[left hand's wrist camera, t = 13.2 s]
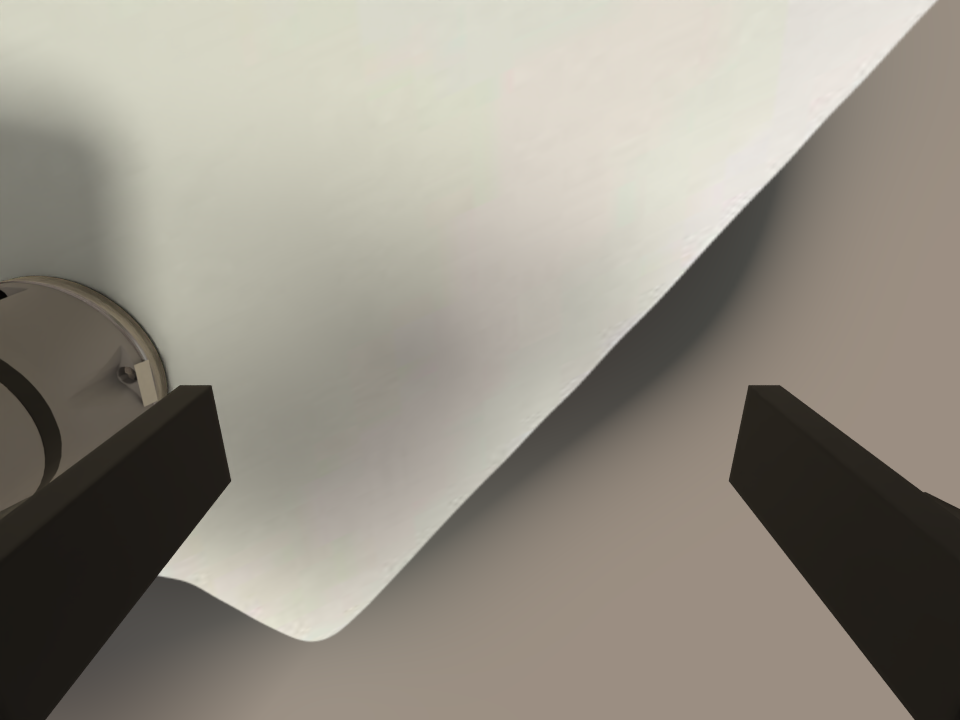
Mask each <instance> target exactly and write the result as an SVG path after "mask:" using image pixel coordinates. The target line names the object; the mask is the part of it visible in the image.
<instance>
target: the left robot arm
mask: <svg viewBox="0 0 960 720" xmlns="http://www.w3.org/2000/svg"><path fill="white" fill-rule="evenodd" d="M230 482H231V478H230V473H229V468H228V463H227V458H226V454H225V449H224V444H223V439H222V434H221V429H220V425H219V420H218V415H217V410H216V405H215V400H214V396H213V391H212V386H211V385H180V386H179V387H177V388H176V389H174V390H173V391H172V392H170V393H169V394H168V395H167V381H166V376H165V371H164V368H163V365H162V362H161V359H160V357H159V355H158V352H157V351H156V349H155V347H154V345H153V343H152V342H151V340H150V339H149V337H148V336H147V334H146V333H145V332H144V331H143V329H142V328H141V327H140V326H139V324H138V323H137V322H136V321H135V320H134V319H133V318H132V317H131V316H130V315H129V314H128V313H127V312H125V311H124V310H123V309H122V308H121V307H119V306H118V305H117V304H116V303H114V302H113V301H111V300H110V299H108V298H107V297H105V296H103V295H102V294H100V293H98V292H96V291H94V290H92V289H90V288H88V287H86V286H83V285H80V284H78V283H75V282H72V281H68V280H65V279H60V278H55V277H47V276H25V277H19V278H13V279H9V280H5V281H1V282H0V720H45V719H46V718H47V717H48V716H49V714H50V713H51V712H52V710H53V709H54V708H55V707H56V705H57V704H58V703H59V702H60V700H61V699H62V698H63V696H64V695H65V694H66V693H67V691H68V690H69V689H70V687H71V686H72V685H73V684H74V682H75V681H76V680H77V678H78V677H79V676H80V675H81V673H82V672H83V671H84V669H85V668H86V667H87V666H88V664H89V663H90V662H91V660H92V659H93V658H94V657H95V655H96V654H97V653H98V651H99V650H100V649H101V647H102V646H103V645H104V644H105V642H106V641H107V640H108V638H109V637H110V636H111V635H112V633H113V632H114V631H115V630H116V628H117V627H118V626H119V624H120V623H121V622H122V621H123V619H124V618H125V617H126V615H127V614H128V613H129V612H130V610H131V609H132V608H133V606H134V605H135V604H136V602H137V601H138V600H139V599H140V597H141V596H142V595H143V594H144V592H145V591H146V590H147V588H148V587H149V586H150V585H151V583H152V582H153V581H154V579H155V578H156V577H157V576H158V574H159V573H160V572H161V570H162V569H163V568H164V567H165V565H166V564H167V563H168V561H169V560H170V559H171V558H172V556H173V555H174V554H175V552H176V551H177V550H178V549H179V547H180V546H181V545H182V543H183V542H184V541H185V540H186V538H187V537H188V536H189V534H190V533H191V532H192V531H193V529H194V528H195V527H196V526H197V524H198V523H199V522H200V520H201V519H202V518H203V517H204V515H205V514H206V513H207V511H208V510H209V509H210V508H211V506H212V505H213V504H214V502H215V501H216V500H217V499H218V497H219V496H220V495H221V493H222V492H223V491H224V490H225V488H226V487H227V486H228V484H229V483H230ZM729 482H730V483H731V484H732V486H733V487H734V488H735V490H736V491H737V492H738V493H739V495H740V496H741V497H742V499H743V500H744V501H745V502H746V504H747V505H748V506H749V507H750V509H751V510H752V511H753V513H754V514H755V515H756V517H757V518H758V519H759V520H760V522H761V523H762V524H763V526H764V527H765V528H766V529H767V531H768V532H769V533H770V534H771V536H772V537H773V538H774V540H775V541H776V542H777V543H778V545H779V546H780V547H781V549H782V550H783V551H784V552H785V554H786V555H787V556H788V558H789V559H790V560H791V561H792V563H793V564H794V565H795V567H796V568H797V569H798V570H799V572H800V573H801V574H802V576H803V577H804V578H805V579H806V581H807V582H808V583H809V585H810V586H811V587H812V588H813V590H814V591H815V592H816V594H817V595H818V596H819V597H820V599H821V600H822V601H823V603H824V604H825V605H826V606H827V608H828V609H829V610H830V612H831V613H832V614H833V615H834V617H835V618H836V619H837V621H838V622H839V623H840V624H841V626H842V627H843V628H844V630H845V631H846V632H847V633H848V635H849V636H850V637H851V639H852V640H853V641H854V642H855V644H856V645H857V646H858V648H859V649H860V650H861V651H862V653H863V654H864V655H865V657H866V658H867V659H868V660H869V662H870V663H871V664H872V666H873V667H874V668H875V669H876V671H877V672H878V673H879V674H880V676H881V677H882V678H883V680H884V681H885V682H886V684H887V685H888V686H889V687H890V689H891V690H892V691H893V693H894V694H895V695H896V696H897V698H898V699H899V700H900V702H901V703H902V704H903V705H904V707H905V708H906V709H907V710H908V712H909V713H910V714H911V716H912V717H913V718H914V720H960V509H959V508H957V507H955V506H952V505H950V504H948V503H946V502H944V501H942V500H940V499H938V498H936V497H934V496H932V495H930V494H928V493H926V492H922V491H921V490H919V489H918V488H917V487H915V486H914V485H913V484H911V483H910V482H909V481H907V480H906V479H905V478H903V477H902V476H901V475H899V474H898V473H897V472H895V471H894V470H893V469H891V468H890V467H889V466H887V465H886V464H885V463H883V462H882V461H880V460H879V459H878V458H876V457H875V456H874V455H873V454H871V453H870V452H868V451H867V450H866V449H864V448H863V447H862V446H860V445H859V444H858V443H856V442H855V441H854V440H852V439H851V438H850V437H848V436H847V435H846V434H844V433H843V432H842V431H840V430H839V429H838V428H836V427H835V426H834V425H832V424H831V423H830V422H828V421H827V420H826V419H824V418H823V417H822V416H820V415H819V414H818V413H816V412H815V411H814V410H812V409H811V408H810V407H808V406H807V405H806V404H804V403H803V402H802V401H800V400H799V399H798V398H796V397H795V396H794V395H792V394H791V393H790V392H788V391H787V390H786V389H784V388H783V387H781V386H780V385H749V386H748V391H747V396H746V401H745V405H744V410H743V415H742V420H741V425H740V430H739V434H738V439H737V444H736V449H735V454H734V458H733V463H732V468H731V473H730V478H729Z"/></svg>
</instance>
